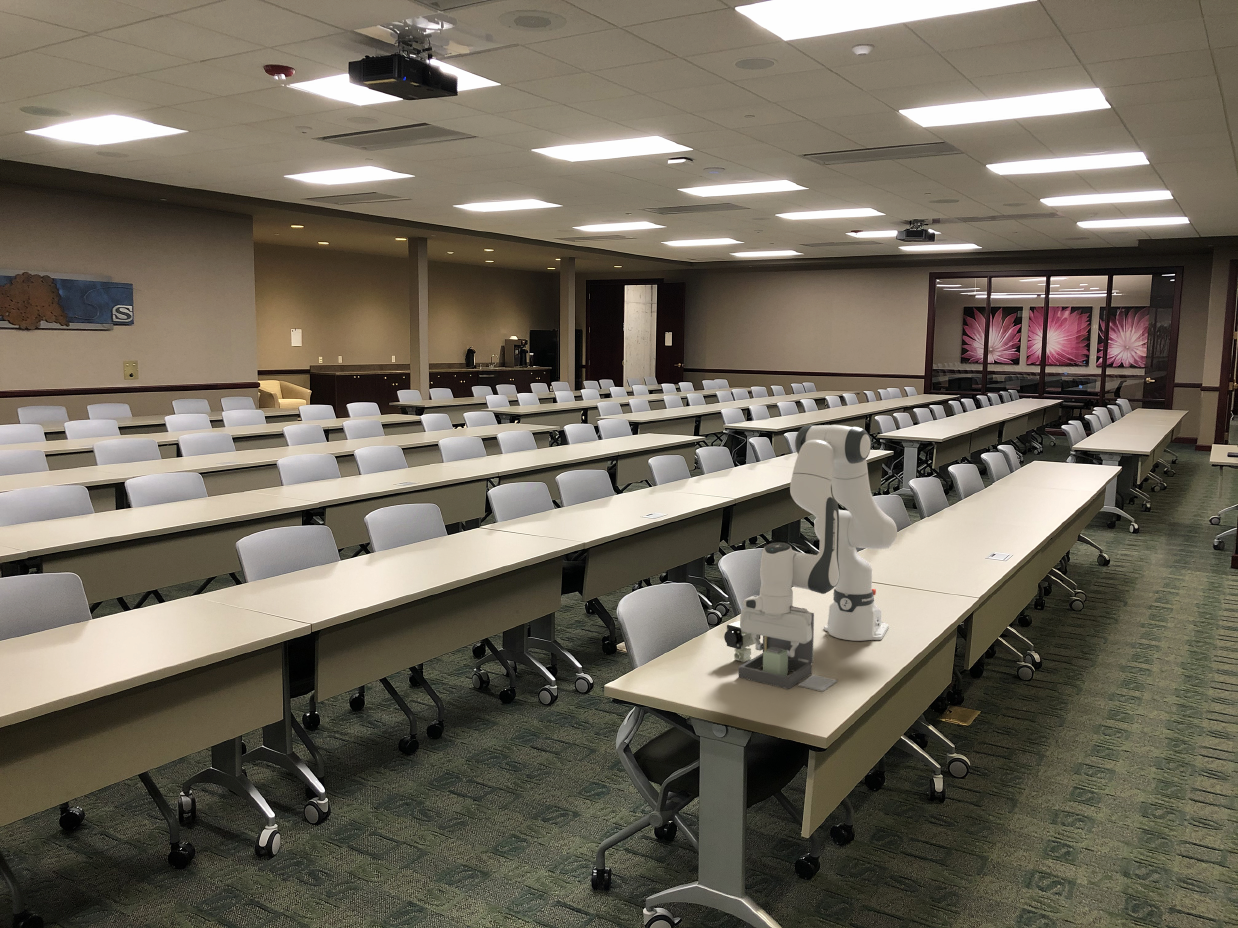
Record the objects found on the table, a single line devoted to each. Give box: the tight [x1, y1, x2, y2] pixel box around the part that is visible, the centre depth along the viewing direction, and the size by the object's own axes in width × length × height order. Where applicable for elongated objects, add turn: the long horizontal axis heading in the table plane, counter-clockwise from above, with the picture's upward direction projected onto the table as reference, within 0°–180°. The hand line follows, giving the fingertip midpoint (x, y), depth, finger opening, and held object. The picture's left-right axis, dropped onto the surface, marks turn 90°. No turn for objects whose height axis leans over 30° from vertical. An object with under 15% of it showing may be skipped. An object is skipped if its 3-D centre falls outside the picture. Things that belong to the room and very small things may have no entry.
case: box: [738, 611, 815, 690], centre depth 245 cm, size 15×15×17 cm
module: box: [762, 647, 789, 676], centre depth 245 cm, size 5×5×8 cm
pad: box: [797, 674, 838, 693], centre depth 239 cm, size 9×7×1 cm
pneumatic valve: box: [723, 620, 761, 663], centre depth 257 cm, size 6×12×12 cm, turn 135°
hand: (774, 653), depth 244 cm, fingers open, 8 cm apart
